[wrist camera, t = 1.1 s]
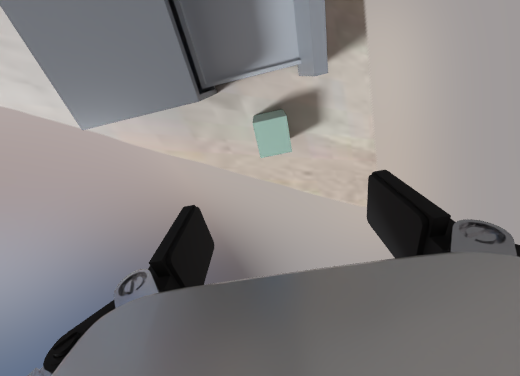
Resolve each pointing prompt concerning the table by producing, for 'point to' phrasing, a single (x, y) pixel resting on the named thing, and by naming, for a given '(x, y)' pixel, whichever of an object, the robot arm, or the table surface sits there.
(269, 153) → the block
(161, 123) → the table surface
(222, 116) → the table surface
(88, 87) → the grey box
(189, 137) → the table surface
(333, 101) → the table surface
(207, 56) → the drawer
